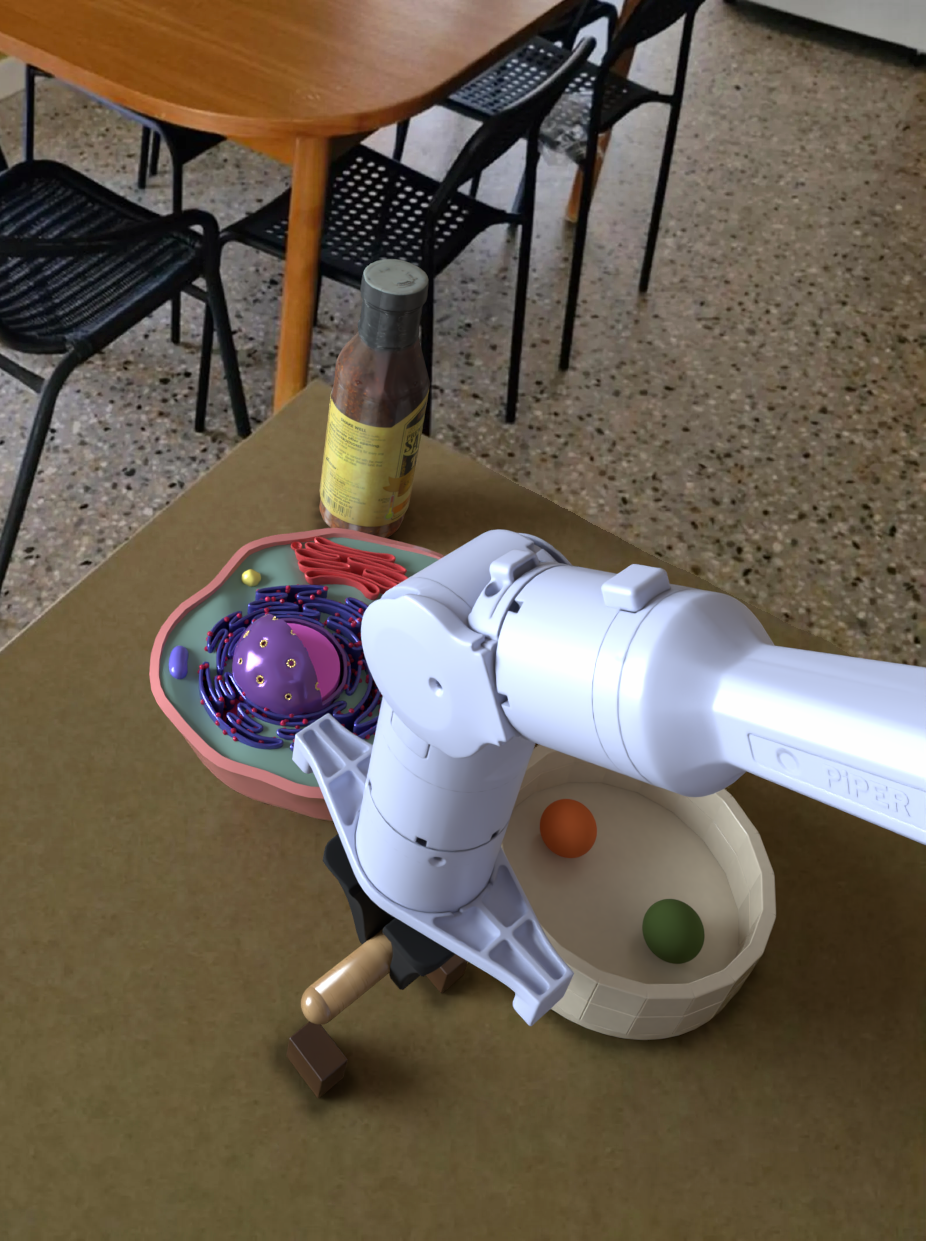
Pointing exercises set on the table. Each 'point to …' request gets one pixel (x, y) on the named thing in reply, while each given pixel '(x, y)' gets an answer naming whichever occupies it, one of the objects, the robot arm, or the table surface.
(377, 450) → the sauce bottle
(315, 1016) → the stick
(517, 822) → the cream shallow round container
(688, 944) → the green ball
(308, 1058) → the stick rest
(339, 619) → the cell model
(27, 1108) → the table surface
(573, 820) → the orange ball
